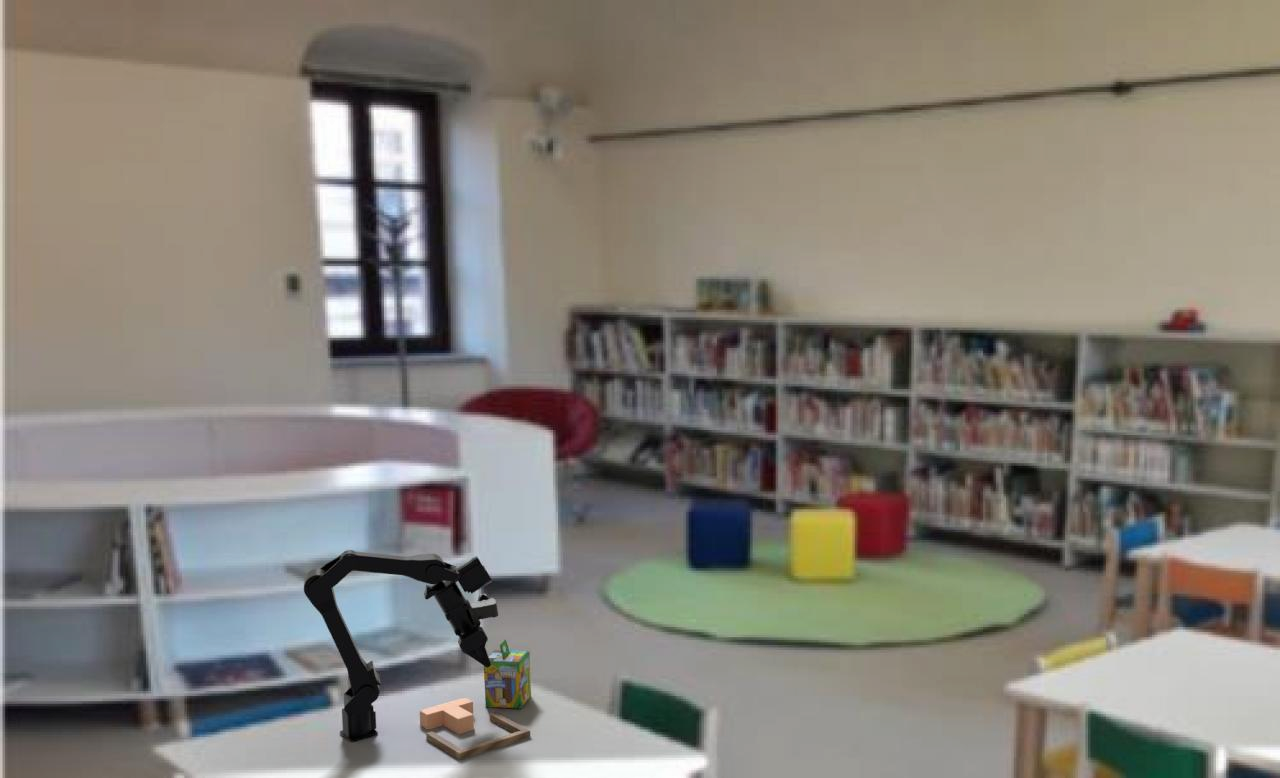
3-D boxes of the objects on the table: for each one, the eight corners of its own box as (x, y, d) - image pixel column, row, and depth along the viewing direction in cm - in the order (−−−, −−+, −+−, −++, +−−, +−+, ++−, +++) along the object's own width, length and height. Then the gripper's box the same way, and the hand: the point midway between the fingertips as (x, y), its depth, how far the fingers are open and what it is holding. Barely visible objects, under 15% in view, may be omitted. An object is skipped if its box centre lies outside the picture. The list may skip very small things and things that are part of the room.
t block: (442, 738, 250) (442, 723, 249) (420, 725, 258) (419, 710, 257) (489, 724, 257) (488, 709, 257) (465, 711, 265) (465, 697, 265)
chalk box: (521, 710, 266) (519, 649, 264) (484, 707, 268) (482, 647, 266) (532, 695, 275) (530, 636, 273) (496, 693, 277) (494, 635, 275)
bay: (459, 760, 238) (459, 753, 238) (426, 739, 249) (426, 733, 249) (530, 737, 249) (530, 730, 249) (495, 718, 261) (495, 712, 260)
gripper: (489, 596, 249) (523, 654, 252) (479, 575, 267) (510, 629, 270) (445, 623, 247) (479, 680, 250) (437, 600, 265) (470, 654, 268)
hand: (486, 660), depth 260 cm, fingers open, 9 cm apart
